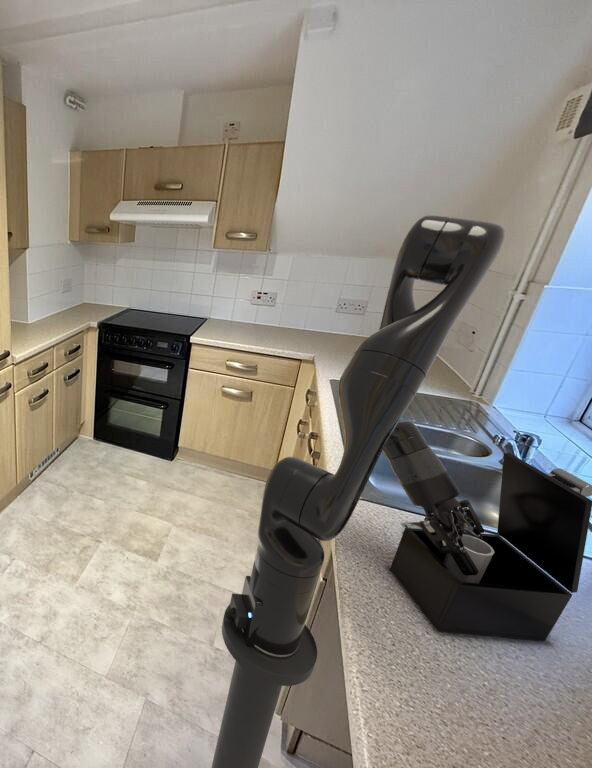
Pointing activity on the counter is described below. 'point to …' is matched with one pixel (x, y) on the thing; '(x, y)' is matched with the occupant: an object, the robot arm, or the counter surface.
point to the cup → (472, 558)
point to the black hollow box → (480, 590)
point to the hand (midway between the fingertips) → (479, 567)
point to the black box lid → (545, 517)
